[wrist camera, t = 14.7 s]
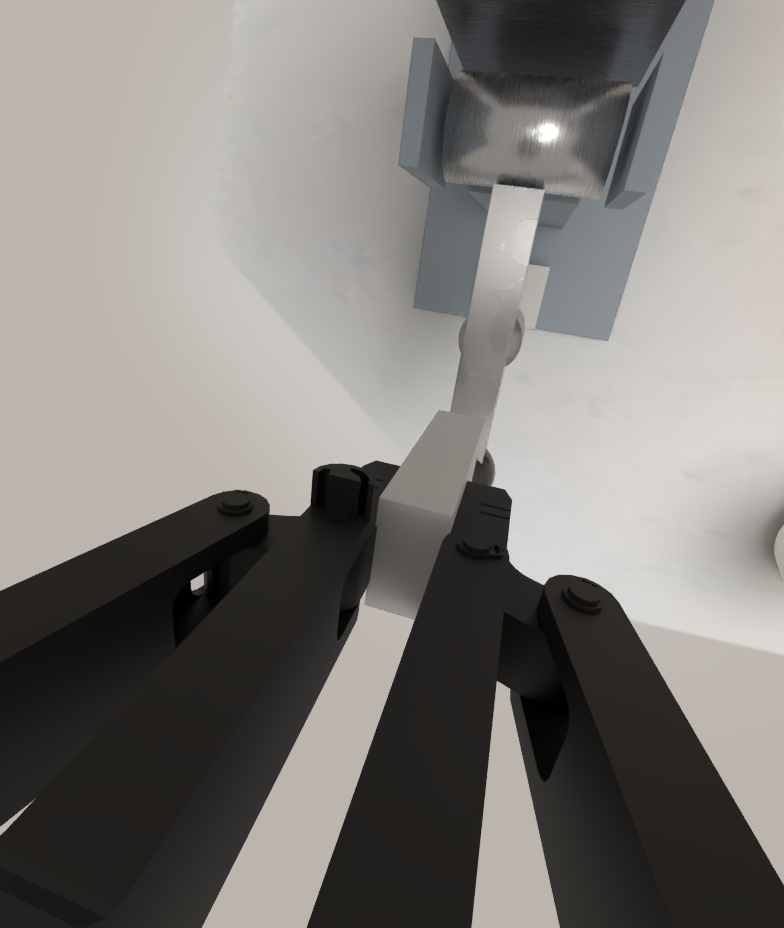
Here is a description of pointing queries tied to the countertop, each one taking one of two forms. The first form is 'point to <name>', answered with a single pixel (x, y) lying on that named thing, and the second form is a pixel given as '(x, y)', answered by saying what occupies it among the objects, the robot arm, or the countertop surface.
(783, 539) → the water bottle
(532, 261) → the frame
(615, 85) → the lever
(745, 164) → the countertop surface
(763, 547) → the countertop surface
